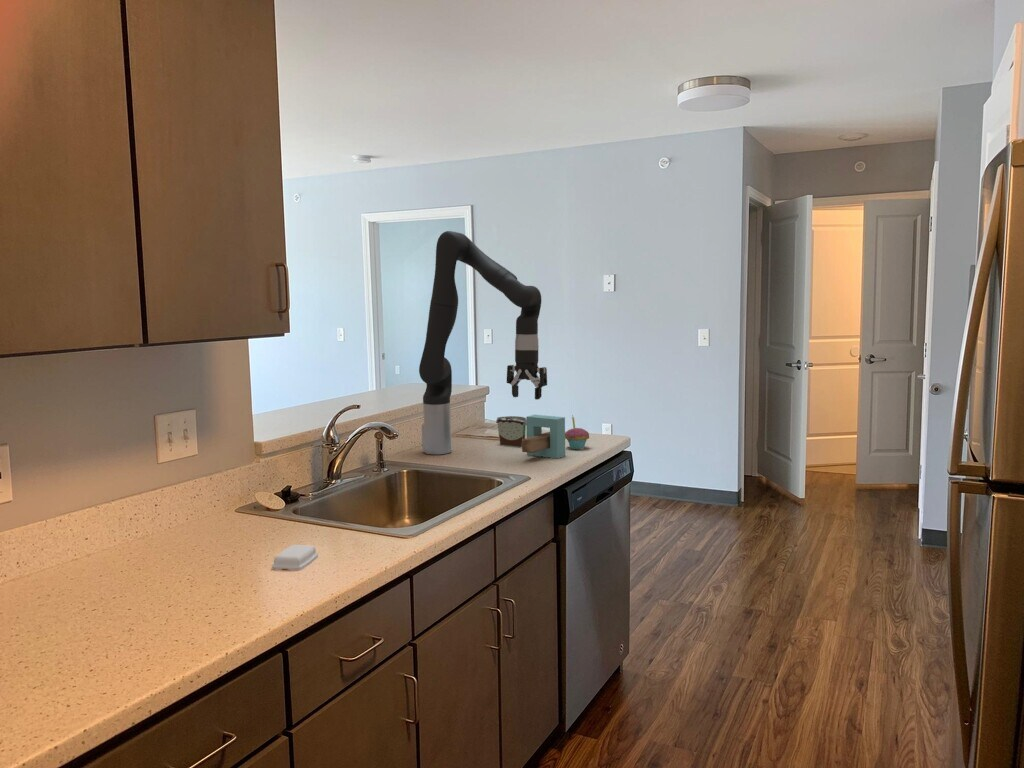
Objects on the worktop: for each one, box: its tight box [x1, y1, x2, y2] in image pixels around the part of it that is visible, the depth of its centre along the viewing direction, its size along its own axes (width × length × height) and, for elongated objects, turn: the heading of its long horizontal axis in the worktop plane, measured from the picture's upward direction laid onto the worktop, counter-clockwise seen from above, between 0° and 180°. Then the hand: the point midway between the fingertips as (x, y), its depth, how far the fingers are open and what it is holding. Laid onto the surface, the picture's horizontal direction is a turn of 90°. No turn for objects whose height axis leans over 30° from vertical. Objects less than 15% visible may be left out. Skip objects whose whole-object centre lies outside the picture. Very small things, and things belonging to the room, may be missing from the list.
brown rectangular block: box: [521, 431, 550, 454], centre depth 250 cm, size 4×20×4 cm, turn 145°
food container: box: [495, 415, 527, 448], centre depth 269 cm, size 12×6×10 cm, turn 58°
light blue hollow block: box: [525, 414, 566, 460], centre depth 250 cm, size 12×5×13 cm, turn 55°
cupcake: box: [565, 414, 590, 450], centre depth 261 cm, size 9×8×12 cm
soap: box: [271, 544, 319, 571], centre depth 153 cm, size 9×7×3 cm
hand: (526, 398), depth 243 cm, fingers open, 8 cm apart
